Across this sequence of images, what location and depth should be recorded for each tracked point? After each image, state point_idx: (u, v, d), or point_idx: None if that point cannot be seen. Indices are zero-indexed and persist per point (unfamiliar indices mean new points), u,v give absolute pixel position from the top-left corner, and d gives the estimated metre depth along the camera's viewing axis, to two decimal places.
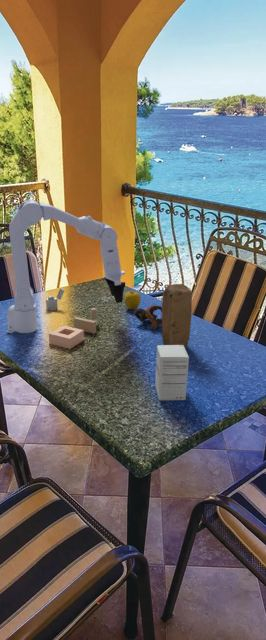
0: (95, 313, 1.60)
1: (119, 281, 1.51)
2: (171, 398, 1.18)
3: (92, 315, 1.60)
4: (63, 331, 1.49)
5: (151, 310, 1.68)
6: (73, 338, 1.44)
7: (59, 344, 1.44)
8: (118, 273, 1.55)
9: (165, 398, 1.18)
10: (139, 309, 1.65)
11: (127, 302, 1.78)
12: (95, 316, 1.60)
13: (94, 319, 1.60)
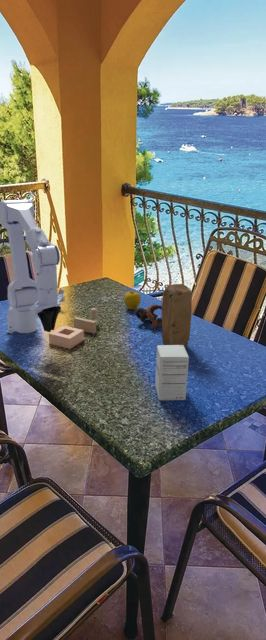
0: (95, 313, 1.60)
1: (34, 311, 1.28)
2: (171, 398, 1.18)
3: (92, 315, 1.60)
4: (63, 331, 1.49)
5: (151, 309, 1.69)
6: (73, 338, 1.44)
7: (59, 344, 1.44)
8: (46, 303, 1.32)
9: (165, 398, 1.18)
10: (140, 308, 1.65)
11: (127, 302, 1.78)
12: (95, 316, 1.60)
13: (94, 319, 1.60)
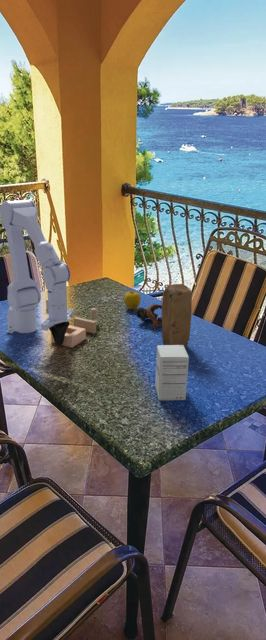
0: (95, 313, 1.60)
1: (45, 327, 1.35)
2: (171, 398, 1.18)
3: (92, 315, 1.60)
4: None
5: (152, 309, 1.69)
6: (75, 337, 1.45)
7: None
8: (57, 318, 1.38)
9: (165, 398, 1.18)
10: (140, 308, 1.66)
11: (127, 302, 1.78)
12: (95, 316, 1.60)
13: (94, 319, 1.60)
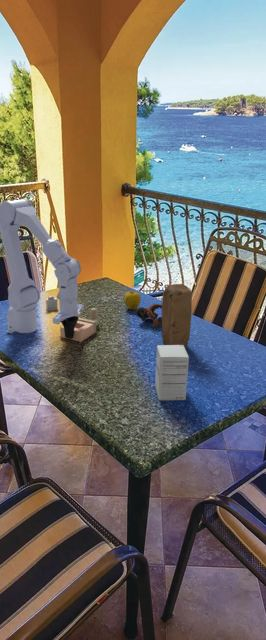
0: (95, 313, 1.60)
1: (57, 320, 1.40)
2: (171, 398, 1.18)
3: (92, 315, 1.60)
4: None
5: (152, 309, 1.70)
6: (84, 331, 1.49)
7: None
8: (68, 312, 1.43)
9: (165, 398, 1.18)
10: (140, 308, 1.66)
11: (127, 302, 1.78)
12: (95, 316, 1.60)
13: (94, 319, 1.60)
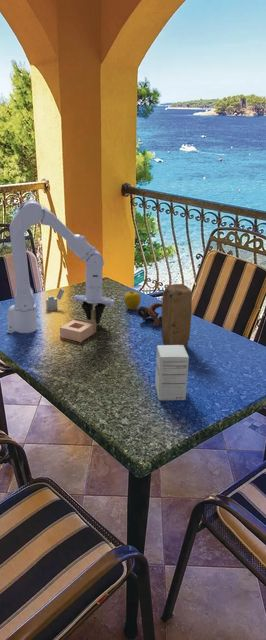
0: (95, 313, 1.60)
1: None
2: (171, 398, 1.18)
3: (92, 315, 1.60)
4: (73, 325, 1.54)
5: (153, 308, 1.71)
6: (84, 331, 1.49)
7: (70, 337, 1.49)
8: (85, 297, 1.58)
9: (165, 398, 1.18)
10: (141, 307, 1.67)
11: (127, 302, 1.78)
12: (95, 316, 1.60)
13: (94, 319, 1.60)
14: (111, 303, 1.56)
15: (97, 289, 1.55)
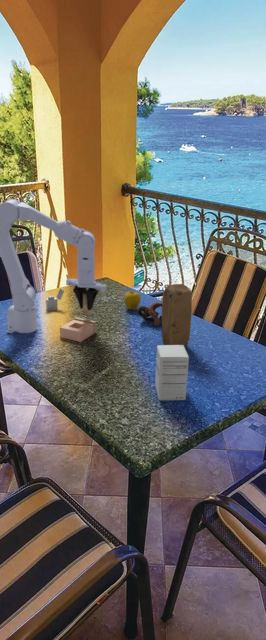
0: None
1: None
2: (171, 398, 1.18)
3: (83, 300, 1.53)
4: (73, 325, 1.54)
5: (153, 307, 1.71)
6: (84, 331, 1.49)
7: (70, 337, 1.49)
8: (77, 280, 1.52)
9: (165, 398, 1.18)
10: (142, 307, 1.67)
11: (127, 302, 1.78)
12: None
13: (86, 304, 1.54)
14: (102, 288, 1.49)
15: (88, 273, 1.48)
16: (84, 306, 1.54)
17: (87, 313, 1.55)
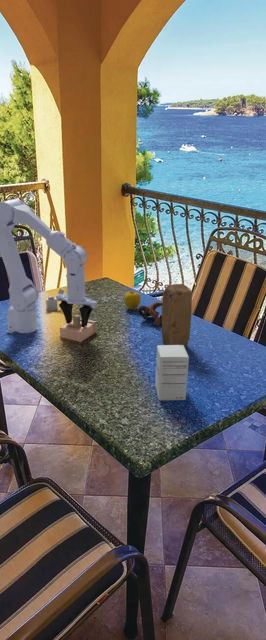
0: (77, 320, 1.50)
1: None
2: (171, 398, 1.18)
3: (74, 323, 1.50)
4: None
5: (153, 307, 1.71)
6: (84, 331, 1.49)
7: (70, 337, 1.49)
8: (67, 296, 1.48)
9: (165, 398, 1.18)
10: (142, 306, 1.67)
11: (127, 302, 1.78)
12: (77, 323, 1.50)
13: (76, 327, 1.51)
14: (92, 305, 1.45)
15: (78, 289, 1.44)
16: None
17: None
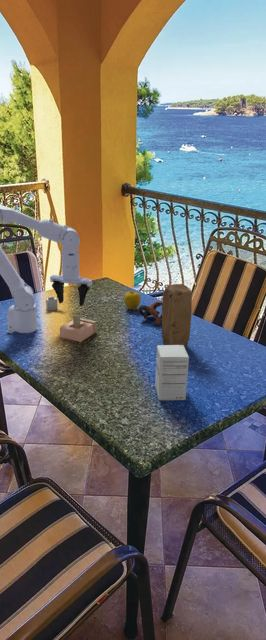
0: (77, 320, 1.50)
1: None
2: (171, 398, 1.18)
3: (74, 323, 1.50)
4: None
5: (154, 306, 1.72)
6: (84, 331, 1.49)
7: (70, 337, 1.49)
8: (62, 276, 1.53)
9: (165, 398, 1.18)
10: (143, 306, 1.68)
11: (127, 302, 1.78)
12: (77, 324, 1.50)
13: (76, 327, 1.51)
14: (88, 283, 1.52)
15: (73, 268, 1.50)
16: None
17: None
